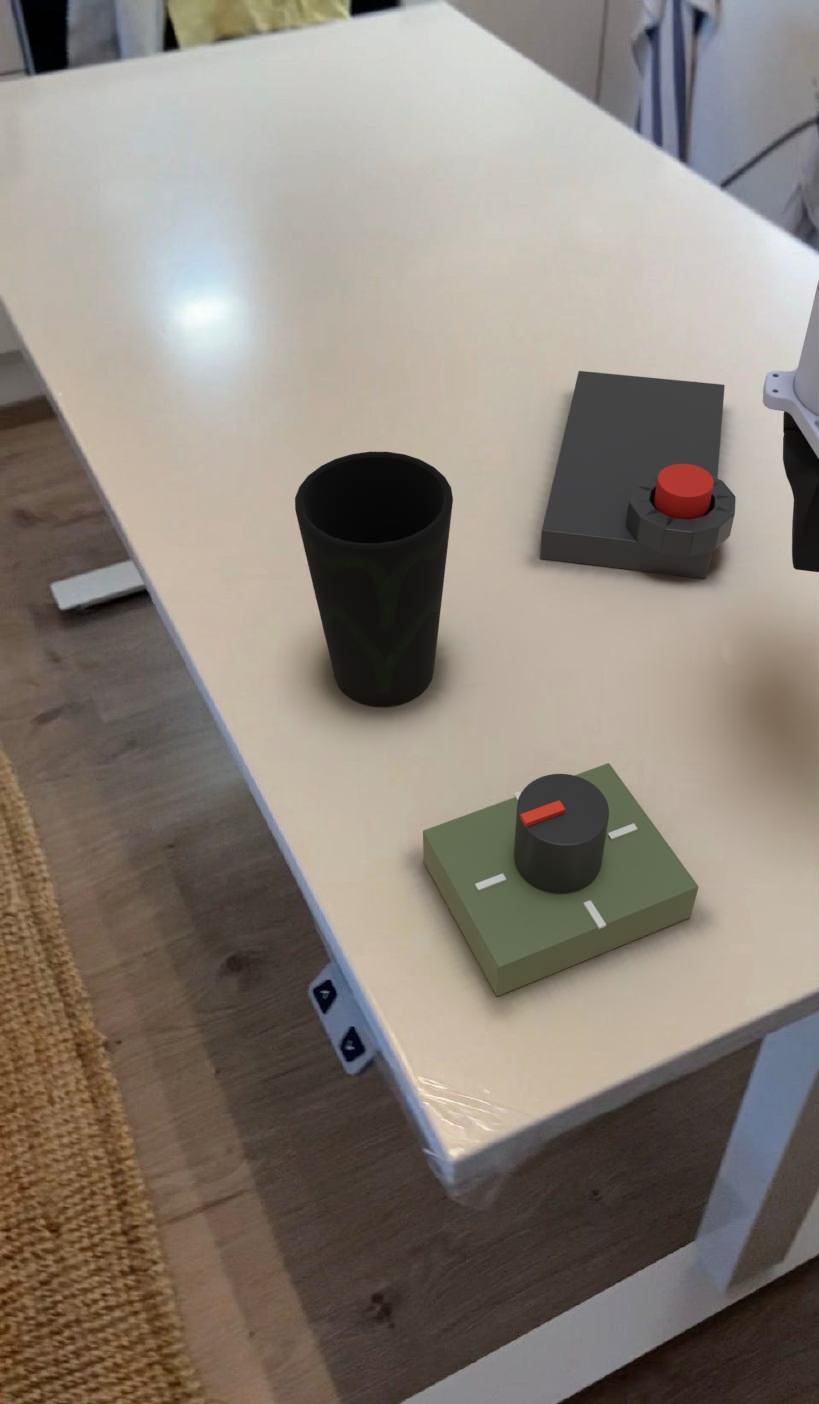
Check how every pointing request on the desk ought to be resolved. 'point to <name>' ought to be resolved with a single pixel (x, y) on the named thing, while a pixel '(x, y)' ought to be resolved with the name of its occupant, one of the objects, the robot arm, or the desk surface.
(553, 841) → the timer dial
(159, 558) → the desk surface
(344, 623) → the cup
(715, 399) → the power block
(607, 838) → the panel
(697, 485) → the power button
